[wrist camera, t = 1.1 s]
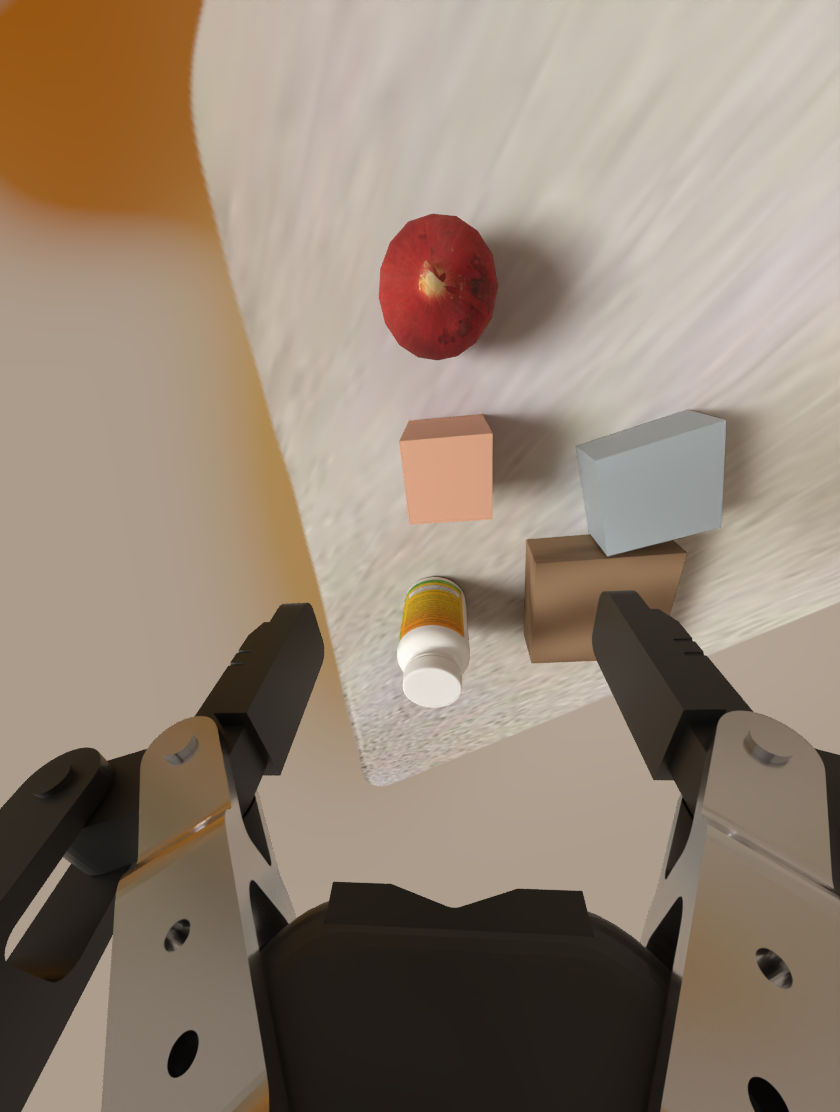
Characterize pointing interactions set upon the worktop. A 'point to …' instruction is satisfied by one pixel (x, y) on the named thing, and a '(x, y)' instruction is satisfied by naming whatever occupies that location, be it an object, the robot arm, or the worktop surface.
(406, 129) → the worktop surface
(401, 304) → the red oval lump
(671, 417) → the slate block
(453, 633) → the supplement bottle
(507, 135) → the worktop surface
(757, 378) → the worktop surface
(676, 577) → the walnut block
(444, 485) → the terracotta block
